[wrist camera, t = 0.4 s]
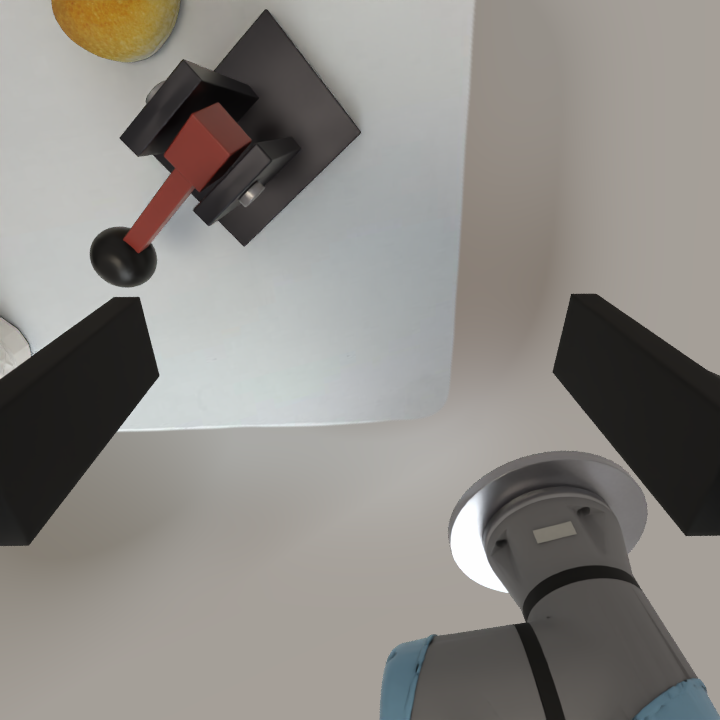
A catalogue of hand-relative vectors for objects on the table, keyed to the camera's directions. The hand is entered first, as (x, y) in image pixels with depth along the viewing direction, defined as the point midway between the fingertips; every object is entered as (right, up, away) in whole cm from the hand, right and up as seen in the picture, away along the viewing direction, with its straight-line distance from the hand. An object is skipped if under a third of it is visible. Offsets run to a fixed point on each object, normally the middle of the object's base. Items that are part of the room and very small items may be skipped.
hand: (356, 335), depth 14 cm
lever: (-10, +8, +11) cm, 18 cm away
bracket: (-7, +15, +18) cm, 24 cm away
